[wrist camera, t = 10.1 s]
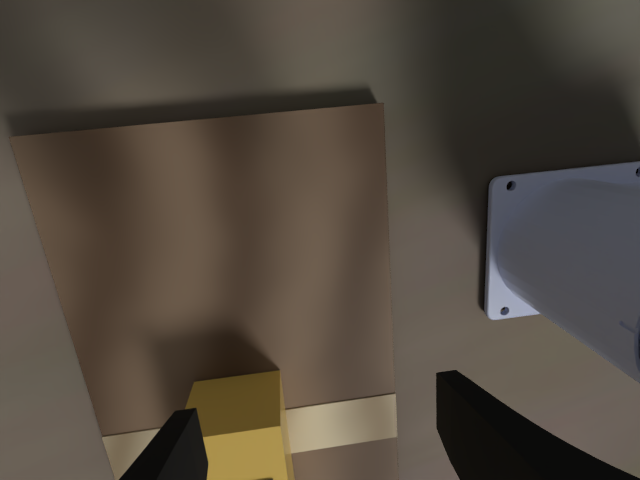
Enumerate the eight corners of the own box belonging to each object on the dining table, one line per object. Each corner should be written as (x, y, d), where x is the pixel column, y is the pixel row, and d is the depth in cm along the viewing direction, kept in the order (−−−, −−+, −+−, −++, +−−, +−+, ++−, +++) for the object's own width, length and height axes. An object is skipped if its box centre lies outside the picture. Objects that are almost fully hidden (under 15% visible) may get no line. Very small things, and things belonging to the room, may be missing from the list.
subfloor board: (377, 104, 18) (383, 102, 17) (395, 492, 25) (400, 507, 24) (23, 136, 17) (7, 136, 16) (144, 534, 24) (138, 552, 23)
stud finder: (280, 370, 20) (280, 428, 16) (295, 486, 23) (299, 562, 19) (194, 381, 20) (173, 444, 16) (218, 498, 22) (205, 578, 18)
